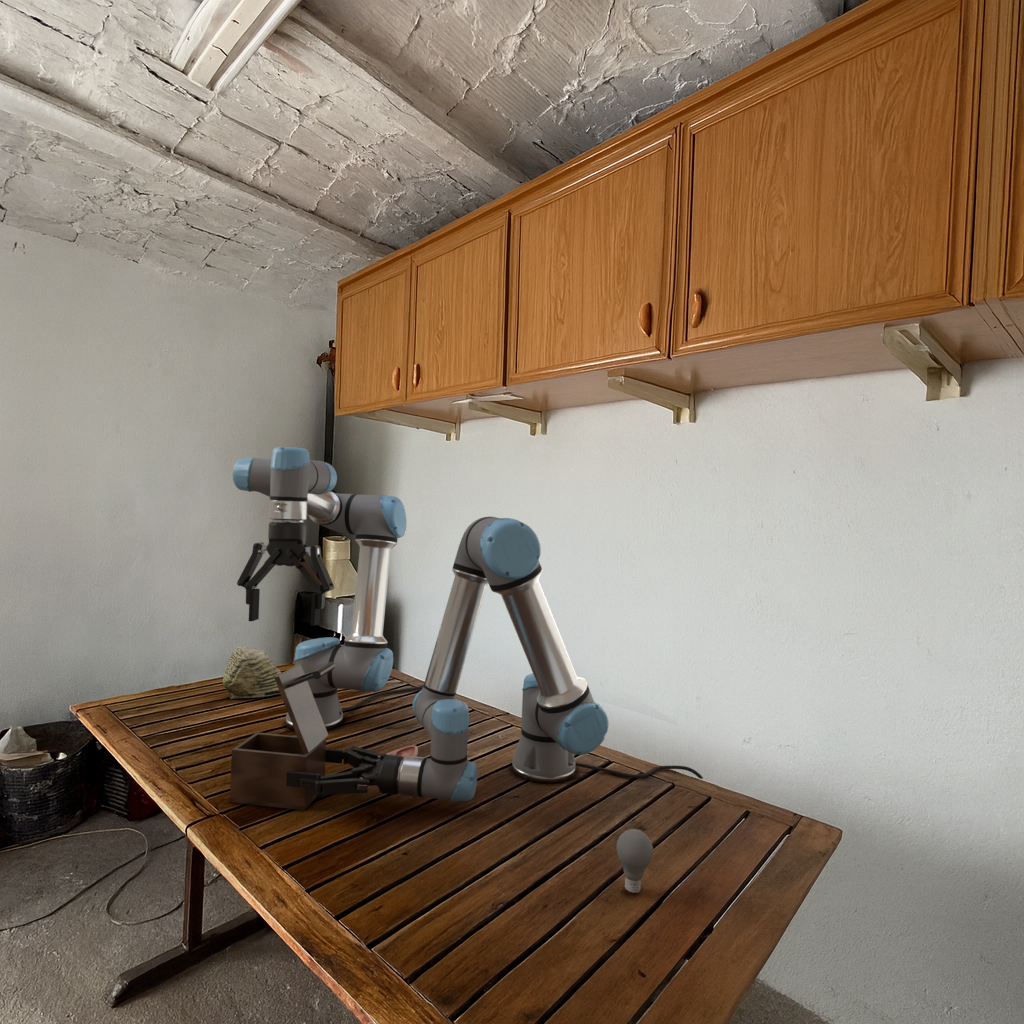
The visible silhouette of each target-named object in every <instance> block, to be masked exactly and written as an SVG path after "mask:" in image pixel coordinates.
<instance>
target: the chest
mask: <svg viewBox="0 0 1024 1024" xmlns="http://www.w3.org/2000/svg"><path fill="white" fill-rule="evenodd" d="M326 748H327V738H325V739H324V740H323V741H322V742H320V743H319V744H318V745H317V746H316V747H315V748H314V749H313V750H311V751H310V752H309V753H307V754H305V755H304V753H303V750H302V747H301V745H300V742H299V740H298V737H297V735H289V734H278V733H268V732H267V733H266V732H258V731H257V732H255V733H253V734H252V735H251V736H249V737H248V738H246V739H244V741H242V742H241V743H239V744H237V746H235V747H233V748H231V759H230V760H231V762H230V785H229V787H230V789H229V790H230V791H229V803H234V804H241V805H251V806H252V805H253V806H262V807H269V808H278V809H279V808H281V809H289V810H298V811H305V810H306V809H307V808H308V807H309V806H310V805H311V804H312V802H314V800H316V798H317V797H318V796H317V795H316V789H314V788H304V787H294V786H286V778H287V772H288V771H296V772H307V773H320V775H321V776H325V775H326V762H325V759H326Z"/></svg>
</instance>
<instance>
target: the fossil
mask: <svg viewBox="0 0 1024 1024" xmlns="http://www.w3.org/2000/svg"><path fill="white" fill-rule="evenodd" d="M282 673H283V672H281V669H279V668H278V667H277V665H276V663H275V662H274V660H273V659H272V658H271V657H270V656H269V655H268V654H267V653H266V652H265V650H264V649H263V648H260V647H258V648H251V647H247V646H246V647H245V646H238V647H237V648H236V649H235V650H233V651H232V653H231V656H230V657H229V659H228V660H227V663H226V666H225V668H224V671H223V675H222V676H223V677H222V685H223V687H224V688H225V690H226V691H228V693H229V698H230V699H250V698H264V697H271V696H275V695H281V693H280V691H279V688H278V686H277V683H276V681H275V678H274V677H276V676H278V675H280V674H282Z"/></svg>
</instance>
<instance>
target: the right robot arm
mask: <svg viewBox="0 0 1024 1024" xmlns="http://www.w3.org/2000/svg"><path fill="white" fill-rule="evenodd" d="M541 553H542V549H541V543H540V540H539V537H538V535H537V534H536V532H535V531H534V530H533V529H532V527H531V526H529V525H528V524H527V523H524V522H522V521H520V520H518V519H516V518H510V517H496V516H484V517H483V516H482V517H480V518H478V519H476V520H474V521H472V522H471V523H470V524H469V525H468V526H467V528H466V529H465V530H464V532H463V534H462V537H461V539H460V542H459V544H458V548H457V551H456V555H455V558H454V562H453V565H452V569H451V570H452V572H453V574H454V578H453V581H452V585H451V588H450V592H449V595H448V599H447V602H446V606H445V610H444V613H443V617H442V619H441V624H440V627H439V631H438V634H437V637H436V641H435V643H434V648H433V651H432V655H431V659H430V662H429V664H428V665H429V666H428V668H427V672H426V675H425V679H424V683H423V685H422V686H423V688H422V689H420V691H418V693H417V694H416V695H415V696H414V697H413V700H412V711H413V714H414V716H415V719H416V720H417V722H418V723H420V725H421V726H422V727H423V729H424V730H425V732H426V733H427V734H428V736H429V737H430V753H429V754H430V755H429V757H430V758H429V757H424V756H417V757H414V756H406V757H405V758H404V757H403V756H400V755H389V754H388V755H387V754H386V753H380V752H376V751H373V750H370V749H366V748H362V747H359V746H356V745H351V746H349V748H344V749H337V748H327V747H326V759H325V763H329V764H340V765H341V764H342V763H343V764H342V765H343V766H345V765H349V766H351V767H353V768H351V769H350V770H349V771H343V772H338V773H331V774H325V776H321V775H320V773H307V772H296V771H288V772H287V778H286V786H294V787H304V788H314V789H316V795H317V797H318V796H332V795H333V796H334V795H345V794H367V793H368V791H369V790H368V788H369V787H372V786H377V788H378V790H379V793H381V794H383V795H393V796H397V795H398V794H399V795H400V796H406V797H412V798H413V799H416V798H425V799H435V800H443V801H449V802H470V801H471V800H472V799H474V796H475V794H476V790H477V784H478V765H477V763H476V762H473V761H470V760H468V744H469V742H468V741H469V726H470V715H469V714H470V713H469V712H470V711H469V709H470V708H469V706H468V704H467V703H466V702H465V701H462V700H460V699H456V695H457V690H458V687H459V684H460V680H461V678H462V674H463V670H464V666H465V662H466V660H467V656H468V652H469V649H470V646H471V642H472V638H473V635H474V632H475V628H476V625H477V621H478V618H479V614H480V611H481V607H482V604H483V601H484V597H485V594H486V590H487V587H488V586H489V588H490V590H491V592H493V593H495V594H497V595H500V596H501V598H502V602H503V603H504V605H505V608H506V611H507V614H508V616H509V618H510V620H511V623H512V625H513V627H514V630H515V633H516V635H517V637H518V640H519V642H520V645H521V647H522V651H523V652H524V655H525V657H526V659H527V663H528V665H529V667H530V669H531V672H532V673H529V674H526V675H525V677H524V679H523V685H522V689H521V691H522V701H521V702H522V703H521V728H520V729H521V731H520V737H519V740H518V743H517V745H516V748H515V750H514V754H513V755H512V756H513V757H512V760H511V761H512V762H511V769H512V771H513V772H514V773H515V774H516V775H517V776H519V777H521V778H523V779H525V780H529V781H532V782H537V783H559V782H564V781H567V780H570V779H571V778H572V777H574V776H575V774H576V768H577V767H580V768H584V769H590V770H594V771H598V772H603V773H608V774H611V775H615V776H619V777H622V778H623V777H624V778H629V779H641V778H642V779H644V778H646V777H649V776H650V775H652V774H653V773H655V772H657V771H661V770H681V771H682V770H683V771H688V772H690V773H692V774H694V775H695V776H696V777H697V778H698V779H700V780H703V779H704V777H703V776H702V775H701V773H699V772H698V770H695V769H693V768H691V767H689V766H687V765H686V766H685V765H658V766H659V767H658V766H654V767H652V768H651V769H650V770H648V771H646V772H644V773H635V774H632V773H625V772H622V771H617V770H613V769H610V768H605V767H601V766H596V765H591V764H586V763H581V762H576V759H575V755H577V756H583V755H587V754H590V753H591V752H593V751H595V750H596V749H597V748H599V747H600V746H601V744H602V743H603V742H604V740H605V737H606V735H607V733H608V732H609V717H608V714H607V711H606V710H605V709H604V708H603V706H602V705H601V704H599V703H598V702H596V701H595V700H594V697H593V695H592V692H591V690H590V687H589V684H588V682H587V680H586V679H585V678H584V677H582V676H578V675H577V673H576V671H575V668H574V665H573V663H572V660H571V658H570V656H569V655H570V654H569V653H568V651H567V648H566V645H565V642H564V640H563V638H562V636H561V633H560V629H559V628H558V625H557V623H556V620H555V618H554V615H553V612H552V610H551V607H550V605H549V602H548V599H547V598H546V594H545V593H544V590H543V587H542V585H541V581H540V577H541V575H542V573H543V568H542V565H541V563H540V558H541Z"/></svg>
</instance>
